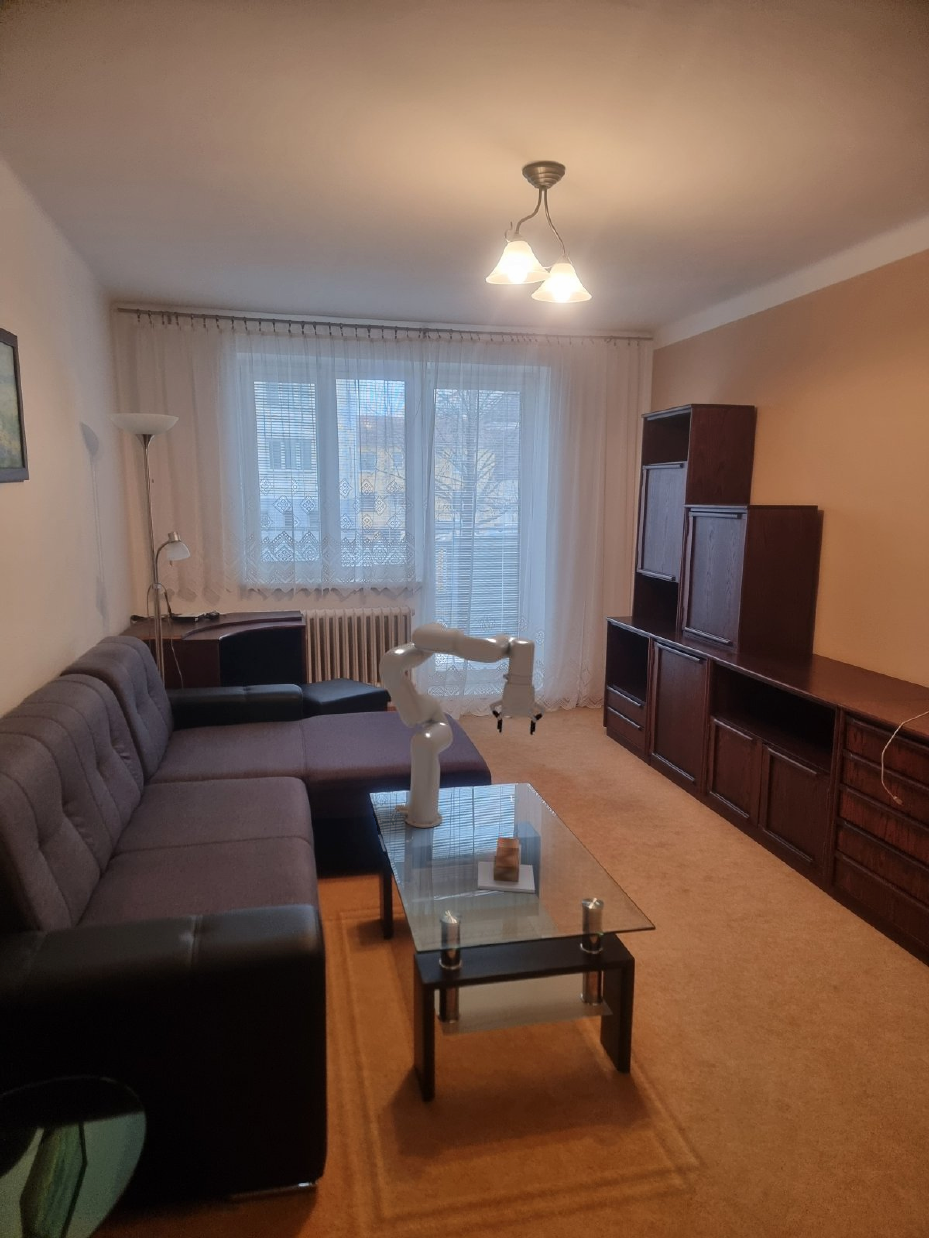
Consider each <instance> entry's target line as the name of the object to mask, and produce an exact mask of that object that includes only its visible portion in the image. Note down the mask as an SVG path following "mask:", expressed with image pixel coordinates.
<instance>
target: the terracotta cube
mask: <svg viewBox="0 0 929 1238" xmlns="http://www.w3.org/2000/svg"><path fill="white" fill-rule="evenodd" d="M519 842H520V841H519V838H515V837H514V838H513V837H499V836H498V837H497V841H496V843H497V844H496V845H497V846H496V855H495V856H496V867H509V868H518V857H519V856H520V854H519V853H520V843H519Z"/></svg>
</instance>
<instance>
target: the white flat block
mask: <svg viewBox="0 0 929 1238" xmlns="http://www.w3.org/2000/svg"><path fill="white" fill-rule="evenodd" d="M493 857H494V858H493V859H494V860H493V862H491V861H477V862H478V863H477V888H476V889H477V890H489V891H499V892H501V891H502V892H503V891H504V892H512V893H513V892H514V893H516V892H517V893H529V894H535V892H536V887H535V877H534V869H533V865H532V864H530V865H529V864H520V862H519V860H520V858H519V856H518V868H509V867H496V855H494V856H493Z"/></svg>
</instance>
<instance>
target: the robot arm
mask: <svg viewBox="0 0 929 1238" xmlns="http://www.w3.org/2000/svg"><path fill="white" fill-rule="evenodd" d="M535 648H536V644H535V642H534V641H533V640H532V639H529V638H524V637H523V638H521V637H520V638H519V637H514V636H511V635H509V634H504V633H500V634H496V635H494V636H491V637H488V638H485V637H474V636H470V635H466V634H465V633H464V631H463V630H462V629H461V628H454V627H446V626H445V625H444V624H442V623H440V622H436V621H435V622H429V623H424V624H422V625H419V626H417V627H416V628H415V629H414V630H413V631H412V634H411V639H410V641H409V642H408V643H405V644H401V645H397V646H394V647H392V648H390V649H388V651H386V652H385V653H384V654H383V656H382V657H381V659H380V661H379V665H378V672H379V677H380V679H381V682H382V684H383V686H384V687H385V688H386V691H387V692H388V694H389V696H390V698H391V700H392V703H393V704H394V707H395V709H396V711H397V714H398V715H399V718H400V720H401V721H402V723H403V724H404V725H405V726H406V727H407V728H411V729H414V728H419V727H420V726H422V728H421V729H420V730H418V731H417V732H416V733H414V735H413V736H412V738H411V740H410V743H409V751H410V759H411V760H410V761H411V766H410V767H411V769H410V773H411V774H410V793H409V803H408V804H409V805H408V804H406V805H396V809H395V811H396V812H398V814H399V815H404V816H403V817H404V818H405V820H404V822H405V821H406V822H407V823H406V822H405V823H406V824H408V825H409V826H412V827H415V828H421V829H422V828H423V829H424V828H425V829H426V828H433V827H437V826H438V825H440V824H441V823H442V821H443V816H442V814H441V813H439V798H440V782H441V781H440V780H441V765H440V761H439V754H440V753H442V752H443V751H445V750H446V749H448V748H449V747H450V746H451V744H452V743H453V740H454V734H453V730H452V728H451V725H450V722H449V721H448V719H447V717H446V715H445V713H444V711H443V709H442V706H441V705H440V703H439V701H438V700H437V699H436V698H435V697H434V696H433V695H431V694H429V693H420V694H419V693H418V691H417V690H416V687H415V685H414V683H413V682H412V680H411V679H410V678H409V677H408V676H407V675H406V674H405V673H406V671H409V670H412V669H415V668H417V667H420V666H421V665H422V664H423V663H425V662H426V661H427V660H429V659H430V658H431V657H432V656H433V655H435V654H442V655H449V656H456V657H457V658H460V659H462V660H465V661H470V662H475V663H484V664H493V663H494V664H495V663H497V662H499V661H502V660H504V659H505V660H506V659H508V671H507V673H505V674H504V673H503V674H502V679H505V680H507V681H505V682H504V685H503V690H502V695H501V696H502V697H501V699H499V700H497V701H494V702H493V703H490V704H489V709H490V711H491V713H492V715H493V716H494V717H495V718H496V721H497V725H496V726H497V727H496V729H497V730H498V733H499V734H501V733H502V731H503V729H502V728H503V718H504V717H515V718H516V717H517V718H518V717H519V718H530V726H529V727H530V728H529V734H530V735H531V736H533V735H534V733H535V732H536V726H537V725H536V723H537V722H538V721H540V719H542V717H543V716H544V714H545V713H546V711H547V709H546V707H545V706H543V705H541V704H539V703H537V702H536V688H535V684H534V683H533V674H534V673H533V672H534V662H535V661H534V660H535ZM499 706H500V707H501V708H500V712H498V711H497V710H496V708H497V707H499ZM535 709H537V710H538V711H539V712H538V713H537V714H536V715H535Z"/></svg>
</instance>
